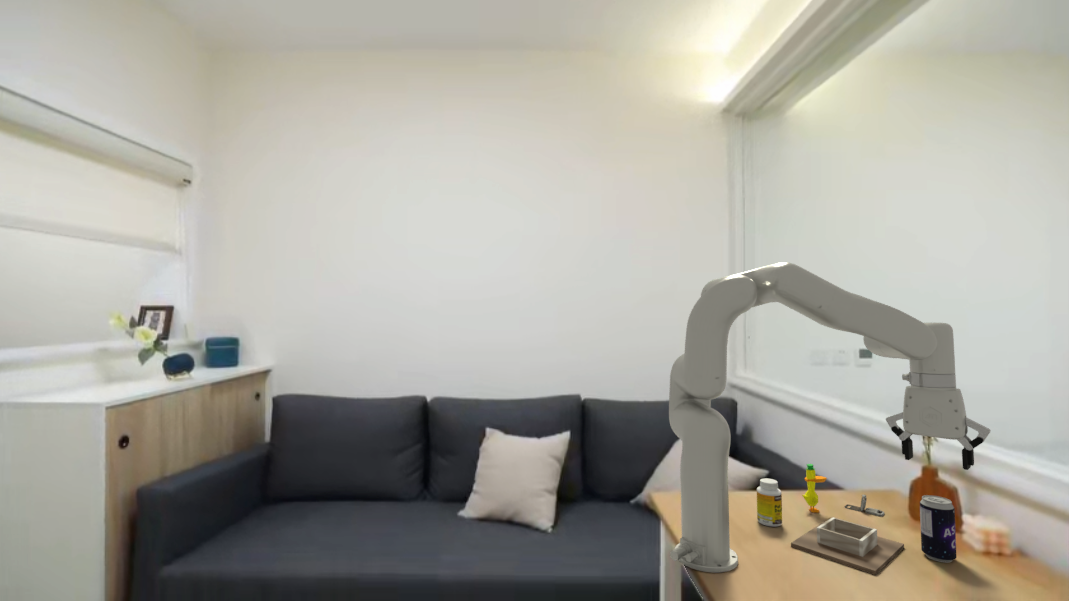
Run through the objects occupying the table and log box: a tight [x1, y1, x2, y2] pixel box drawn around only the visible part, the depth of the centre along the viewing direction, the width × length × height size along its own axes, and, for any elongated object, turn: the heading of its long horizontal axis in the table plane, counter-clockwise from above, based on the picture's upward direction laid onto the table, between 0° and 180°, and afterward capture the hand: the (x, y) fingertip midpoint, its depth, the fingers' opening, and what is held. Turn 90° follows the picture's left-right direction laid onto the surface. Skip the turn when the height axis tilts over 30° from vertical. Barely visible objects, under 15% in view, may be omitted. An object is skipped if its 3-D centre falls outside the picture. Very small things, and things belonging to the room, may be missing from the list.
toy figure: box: [801, 463, 828, 514], centre depth 130 cm, size 7×4×12 cm, turn 94°
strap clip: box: [843, 494, 885, 518], centre depth 130 cm, size 8×3×4 cm, turn 42°
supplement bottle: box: [756, 477, 783, 528], centre depth 123 cm, size 6×6×10 cm
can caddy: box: [790, 516, 905, 576], centre depth 109 cm, size 18×16×4 cm
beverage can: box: [919, 494, 957, 564], centre depth 104 cm, size 6×6×12 cm
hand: (937, 463), depth 105 cm, fingers open, 9 cm apart
